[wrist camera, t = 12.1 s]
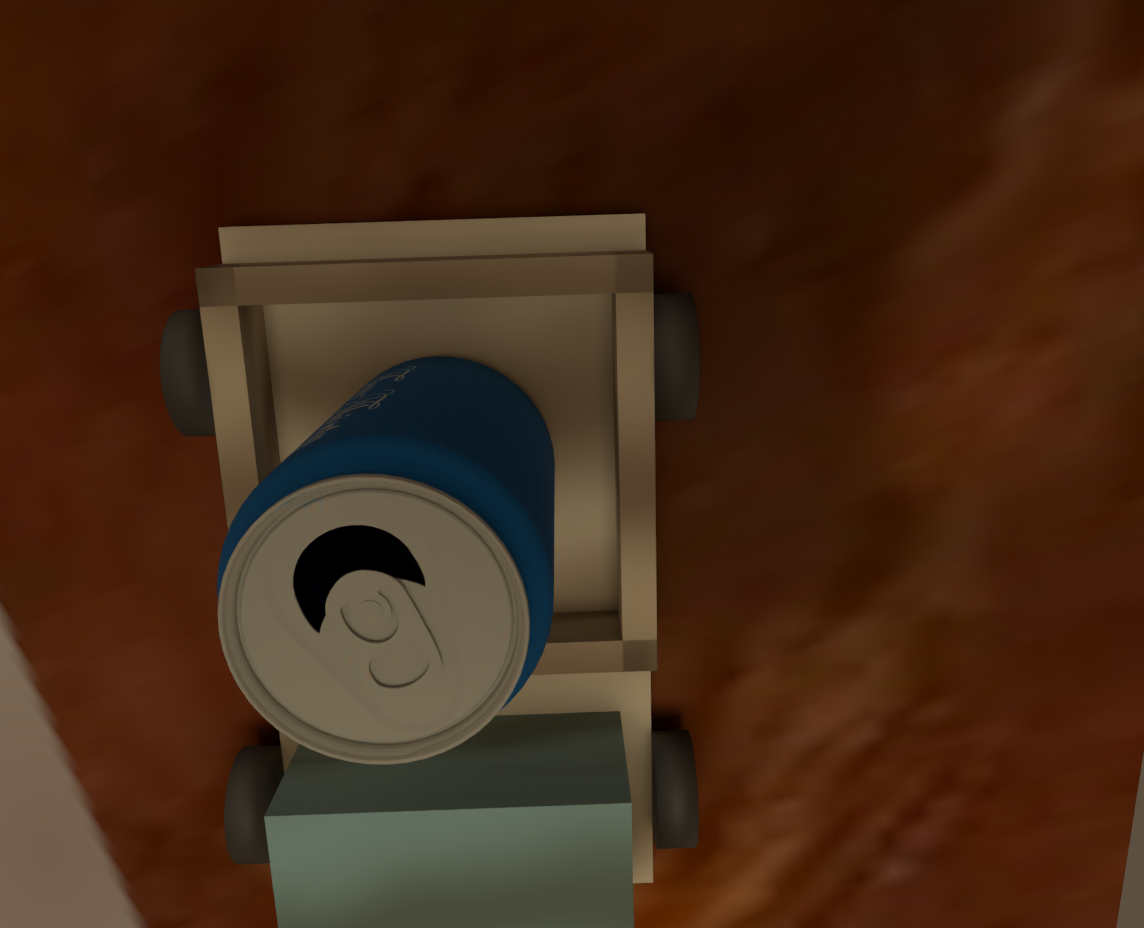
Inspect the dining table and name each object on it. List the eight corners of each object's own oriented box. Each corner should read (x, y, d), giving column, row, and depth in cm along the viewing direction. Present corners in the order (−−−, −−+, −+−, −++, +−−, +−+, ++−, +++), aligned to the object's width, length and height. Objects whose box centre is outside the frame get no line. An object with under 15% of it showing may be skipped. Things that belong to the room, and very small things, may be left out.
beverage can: (497, 315, 28) (455, 391, 16) (589, 509, 30) (611, 704, 18) (298, 407, 29) (123, 544, 17) (399, 593, 30) (301, 835, 19)
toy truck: (190, 228, 28) (93, 233, 22) (682, 211, 28) (716, 213, 22) (273, 873, 34) (213, 1015, 28) (683, 858, 34) (711, 997, 28)
